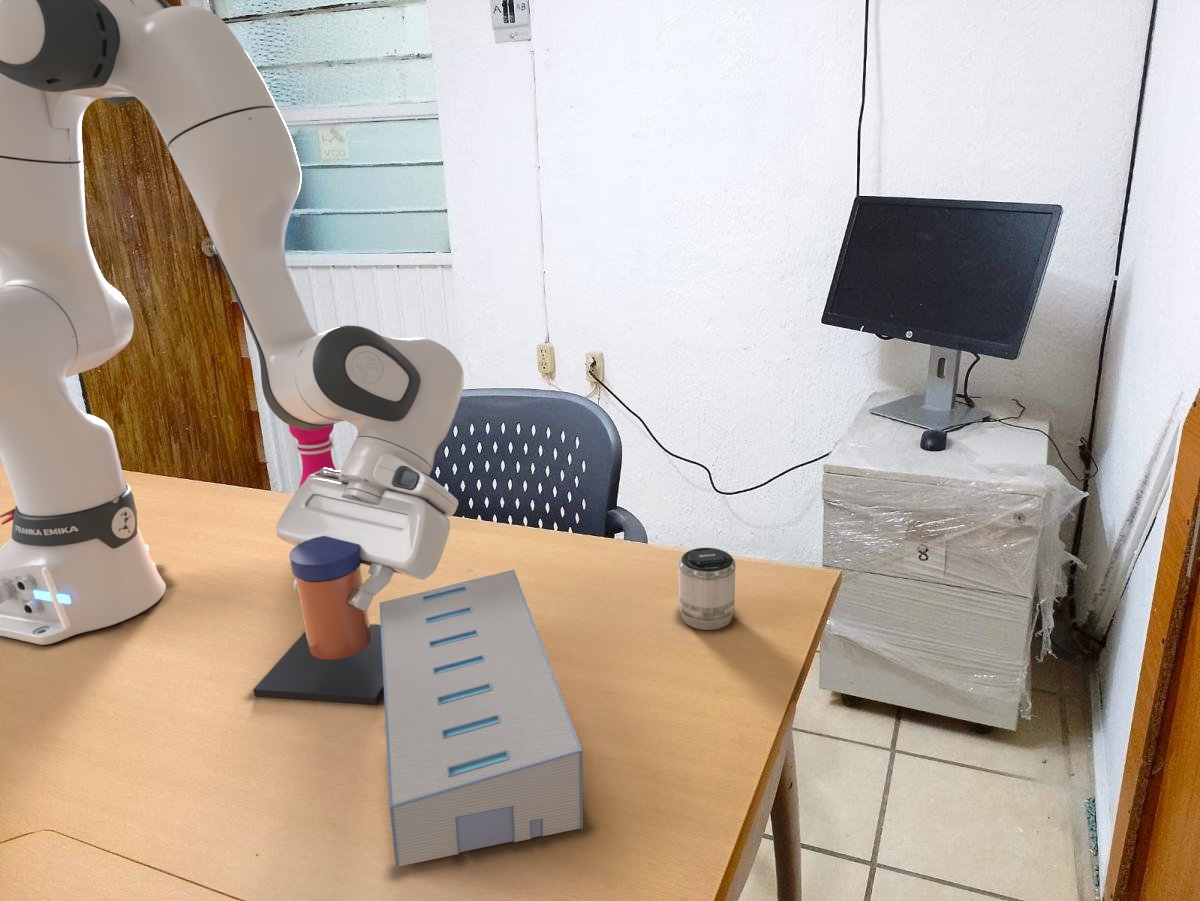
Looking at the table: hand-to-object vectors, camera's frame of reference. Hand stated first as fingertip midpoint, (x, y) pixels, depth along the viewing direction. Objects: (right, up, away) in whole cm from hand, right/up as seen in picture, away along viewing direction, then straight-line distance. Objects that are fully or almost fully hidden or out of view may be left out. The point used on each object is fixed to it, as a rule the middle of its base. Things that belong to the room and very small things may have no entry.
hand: (328, 599), depth 85 cm
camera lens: (+40, -4, +9) cm, 41 cm away
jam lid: (0, +5, -1) cm, 5 cm away
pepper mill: (-12, +4, +37) cm, 39 cm away
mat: (+1, -7, +3) cm, 8 cm away
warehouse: (+16, -10, -8) cm, 20 cm away
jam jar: (0, -5, +2) cm, 5 cm away
